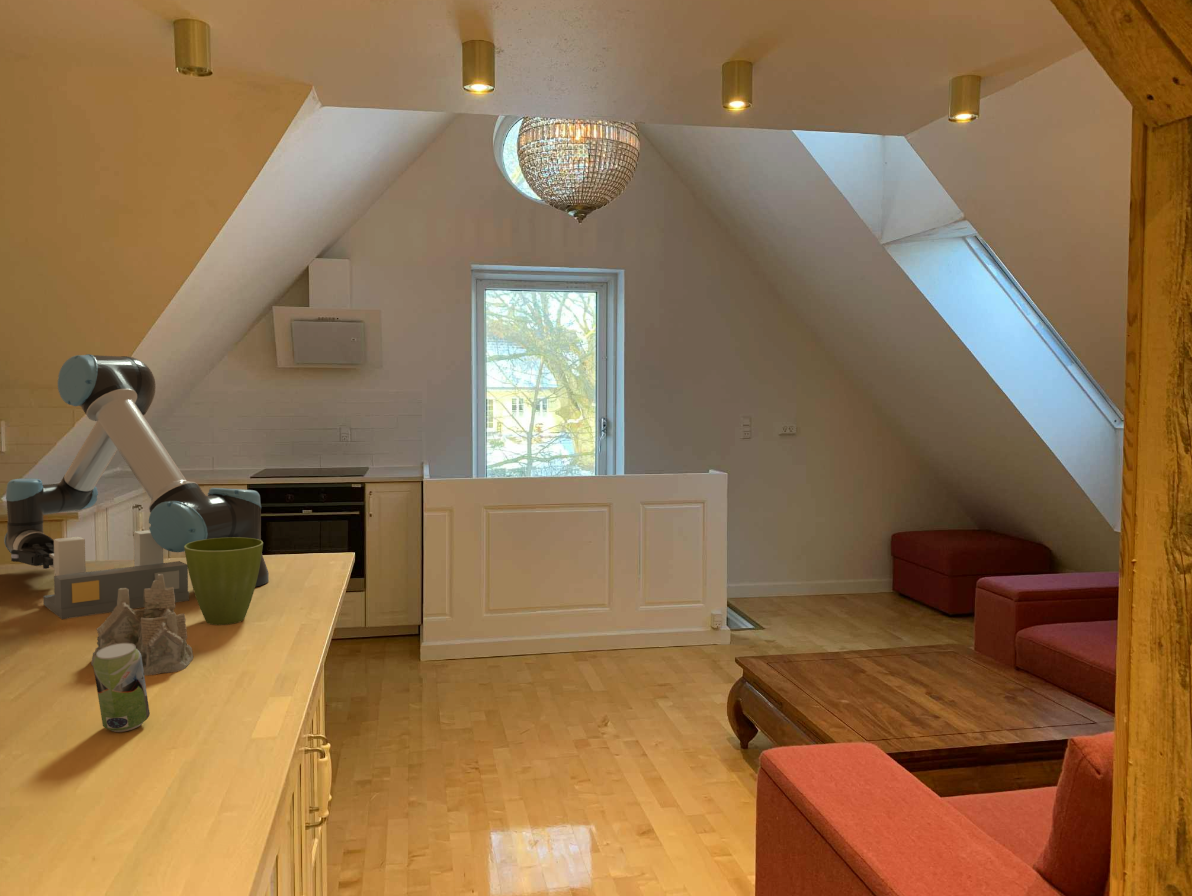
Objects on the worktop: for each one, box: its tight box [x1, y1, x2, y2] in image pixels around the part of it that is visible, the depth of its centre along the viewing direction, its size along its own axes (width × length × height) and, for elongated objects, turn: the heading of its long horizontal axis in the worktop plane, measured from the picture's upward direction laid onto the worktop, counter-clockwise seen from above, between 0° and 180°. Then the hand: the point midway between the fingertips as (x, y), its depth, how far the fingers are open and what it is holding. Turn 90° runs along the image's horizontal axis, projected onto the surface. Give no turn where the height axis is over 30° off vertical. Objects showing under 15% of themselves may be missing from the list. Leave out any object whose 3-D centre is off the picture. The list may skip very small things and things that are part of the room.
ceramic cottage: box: [90, 574, 194, 676], centre depth 156 cm, size 16×16×15 cm
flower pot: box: [184, 537, 264, 626], centre depth 184 cm, size 15×15×16 cm
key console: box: [42, 560, 190, 620], centre depth 197 cm, size 15×25×8 cm, turn 134°
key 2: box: [133, 529, 164, 567], centre depth 205 cm, size 4×5×12 cm
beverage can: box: [92, 643, 151, 733], centre depth 128 cm, size 6×7×12 cm
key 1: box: [53, 536, 87, 576], centre depth 194 cm, size 4×5×12 cm
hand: (60, 563), depth 198 cm, fingers closed
